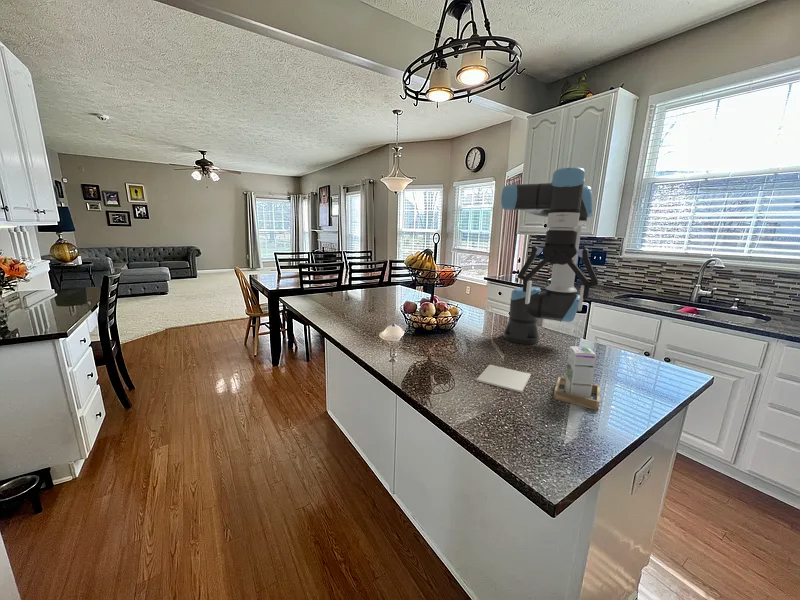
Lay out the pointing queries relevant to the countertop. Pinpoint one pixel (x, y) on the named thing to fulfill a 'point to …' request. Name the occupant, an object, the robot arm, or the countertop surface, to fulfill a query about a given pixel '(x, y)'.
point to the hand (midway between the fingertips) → (552, 306)
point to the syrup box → (580, 371)
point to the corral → (577, 399)
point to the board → (504, 378)
